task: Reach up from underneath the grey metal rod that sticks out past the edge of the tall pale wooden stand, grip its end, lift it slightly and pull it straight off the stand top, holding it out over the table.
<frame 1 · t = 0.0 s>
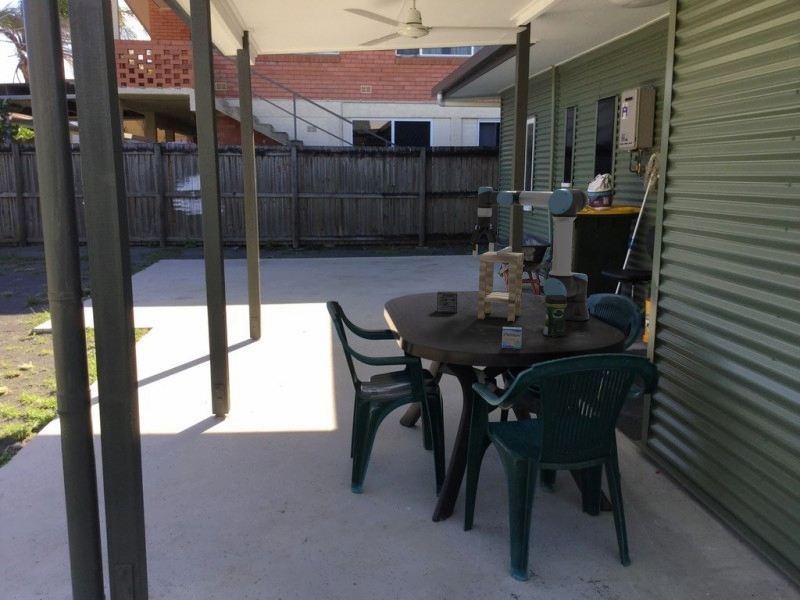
hand: (483, 255, 358), 28 cm above the table, tool pointing down, fingers open, 13 cm apart
small box: (447, 312, 349), on the table
coffee jar: (554, 335, 300), on the table
shelf stand: (499, 316, 338), on the table
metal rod: (504, 253, 336), point 32 cm above the table, touching shelf stand
medicine box: (511, 348, 277), on the table
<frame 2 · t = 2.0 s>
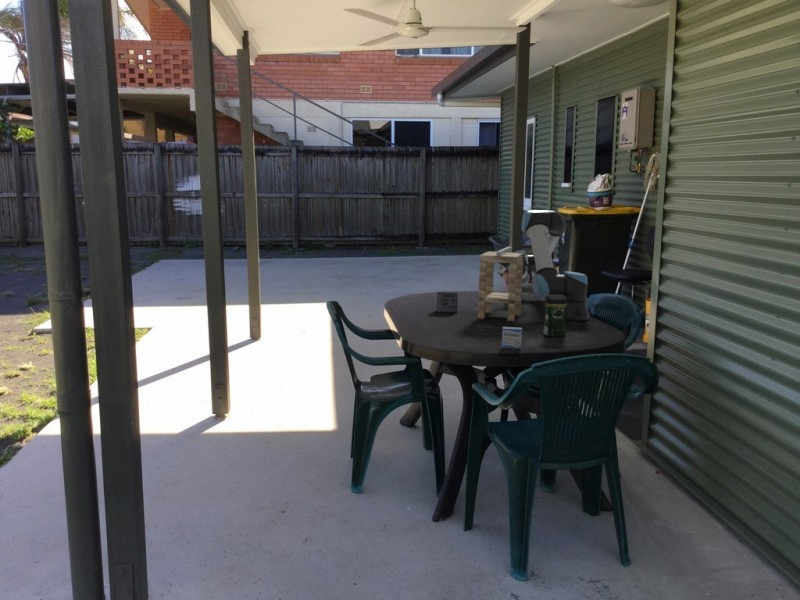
hand: (513, 256, 360), 28 cm above the table, tool pointing upward, fingers open, 13 cm apart
nothing on the table moved.
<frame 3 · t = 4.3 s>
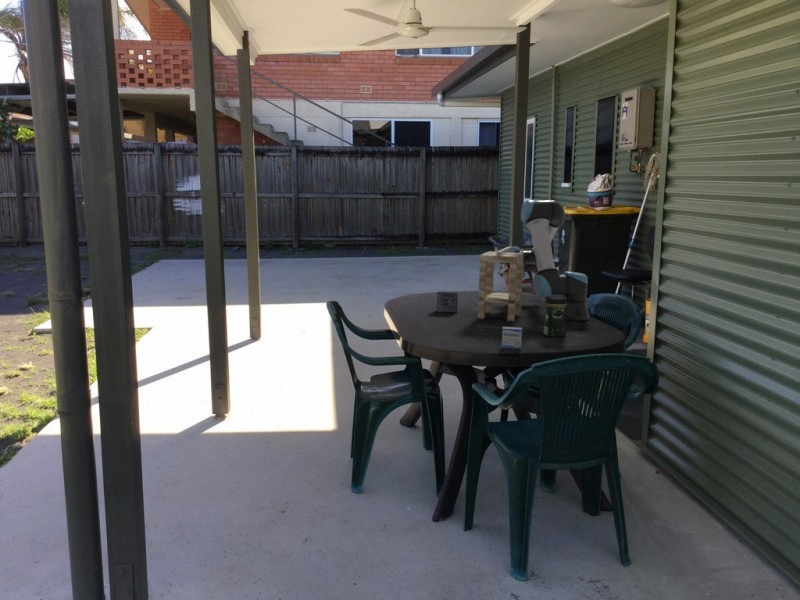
hand: (508, 250, 347), 32 cm above the table, tool pointing upward, fingers open, 13 cm apart
nothing on the table moved.
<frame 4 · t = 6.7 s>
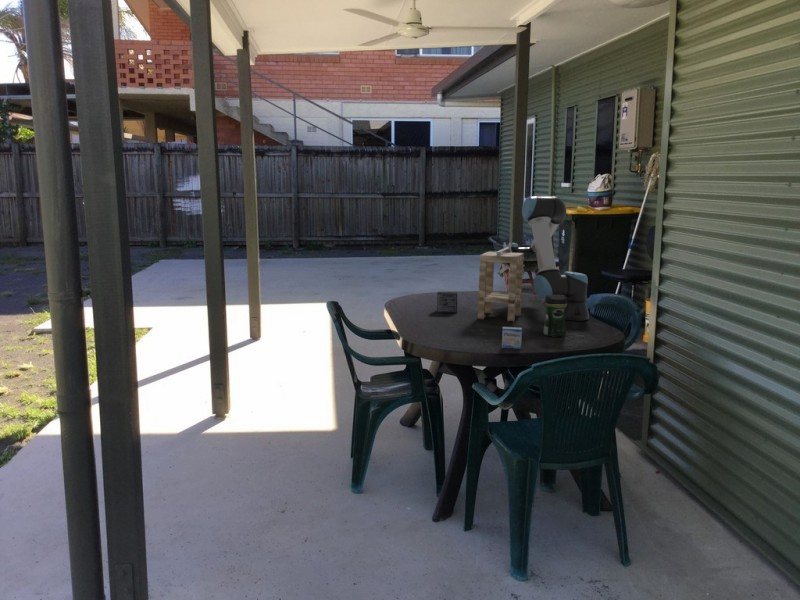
hand: (506, 244, 340), 36 cm above the table, tool pointing upward, fingers closed on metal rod, 2 cm apart
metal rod: (504, 253, 336), point 32 cm above the table, touching gripper, shelf stand
everything else where it was.
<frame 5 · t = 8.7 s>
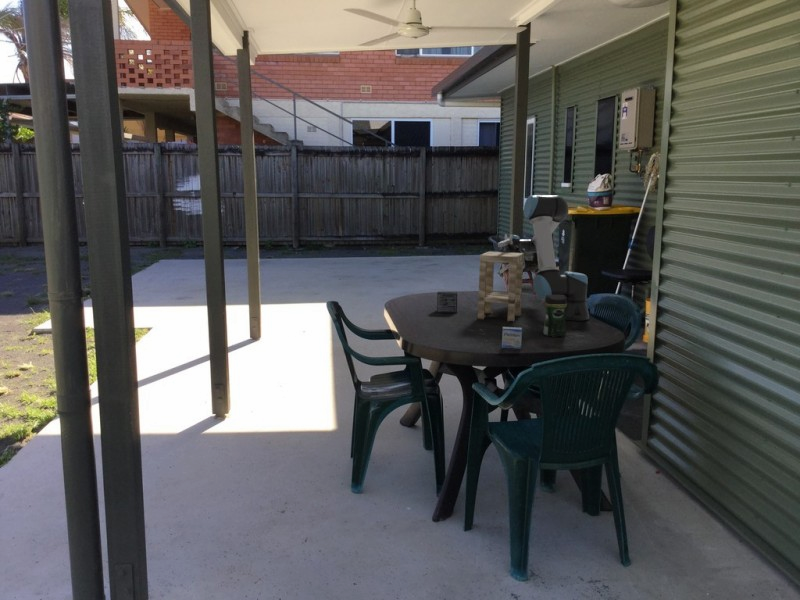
hand: (508, 236, 342), 40 cm above the table, tool pointing upward, fingers closed on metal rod, 2 cm apart
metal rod: (505, 244, 338), point 36 cm above the table, touching gripper
everything else where it was.
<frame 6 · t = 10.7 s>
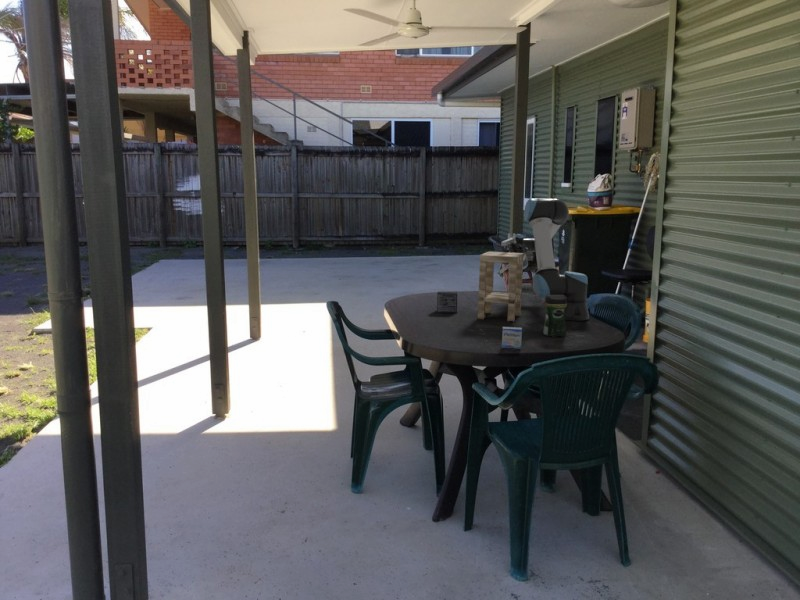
hand: (511, 235, 349), 40 cm above the table, tool pointing upward, fingers closed on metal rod, 2 cm apart
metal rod: (508, 243, 345), point 36 cm above the table, touching gripper
everything else where it was.
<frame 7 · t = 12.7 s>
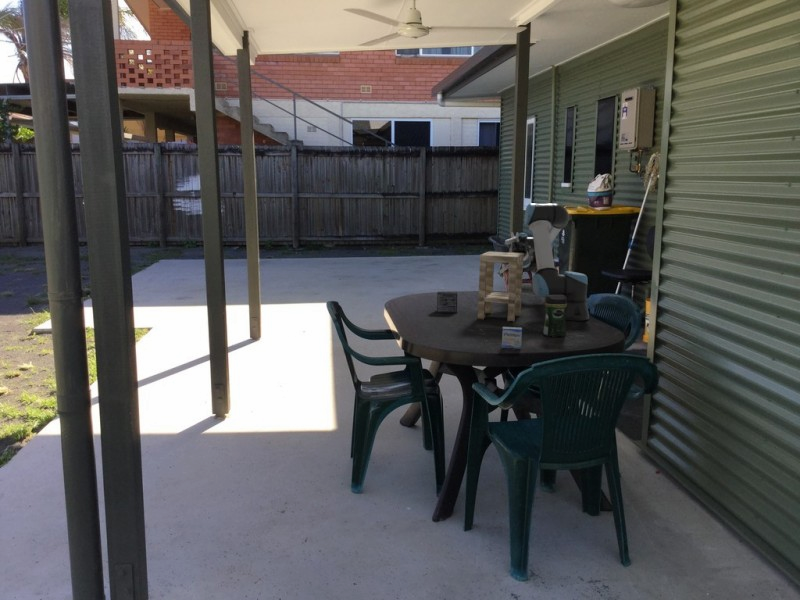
hand: (514, 234, 356), 40 cm above the table, tool pointing upward, fingers closed on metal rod, 2 cm apart
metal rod: (512, 242, 352), point 36 cm above the table, touching gripper
everything else where it was.
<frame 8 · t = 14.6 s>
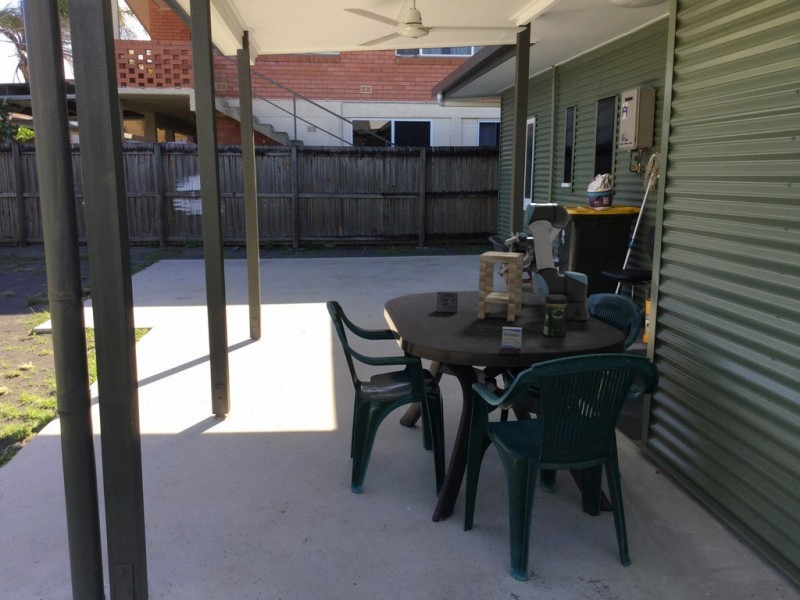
hand: (514, 234, 356), 40 cm above the table, tool pointing upward, fingers closed on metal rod, 2 cm apart
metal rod: (512, 242, 352), point 36 cm above the table, touching gripper
everything else where it was.
at the end: the gripper is holding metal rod; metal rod moved 18.4 cm from its start; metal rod point 36.0 cm above the table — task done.
